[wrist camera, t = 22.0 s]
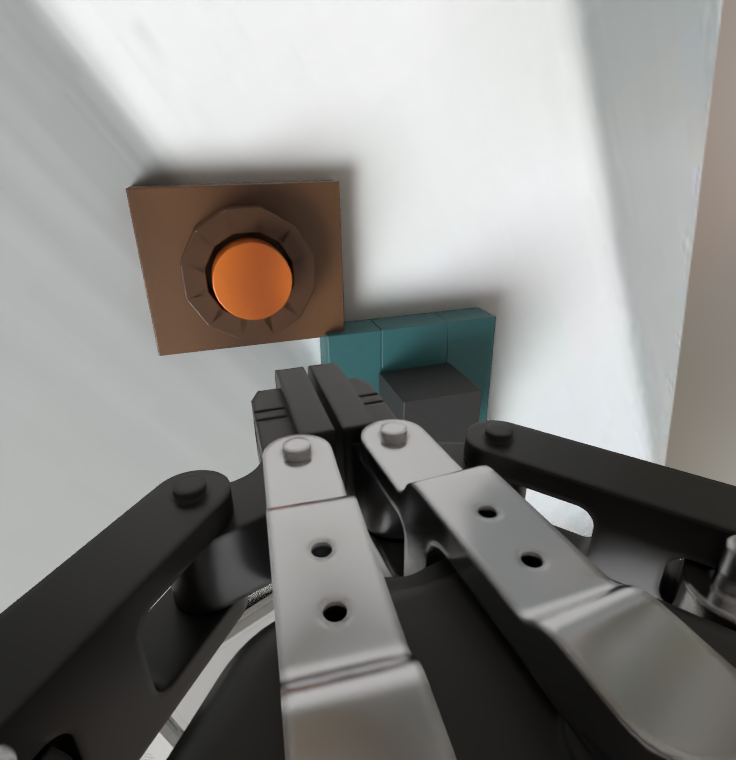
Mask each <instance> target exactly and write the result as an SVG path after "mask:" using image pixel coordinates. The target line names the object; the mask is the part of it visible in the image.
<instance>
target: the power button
mask: <svg viewBox="0 0 736 760" xmlns="http://www.w3.org/2000/svg"><path fill="white" fill-rule="evenodd" d="M212 284H213V289H214V292H215V295H216V297H217V299H218V301H219V302H220V304H221V305H222V306H223V307H224V308H225V309H226V310H227V311H228V312H230V313H231V314H233V315H235V316H237V317H240V318H243V319H248V320H259V319H264V318H267V317H269V316H272V315H273V314H275V313H277V312H278V311H279V310H280V309H281V308H282V307H283V306H284V305H285V303H286V302H287V300H288V298H289V296H290V294H291V290H292V274H291V270H290V267H289V265H288V263H287V261H286V260H285V258H284V257H283V256H282V255H281V254H280V252H279V251H278V250H277V249H276V248H275V247H274V246H272V245H271V244H270V243H268V242H266V241H264V240H261V239H258V238H252V237H245V238H239V239H236V240H233V241H231V242H229V243H228V244H226V245H225V246H224V247H223V248H222V249H221V250H220V251H219V252H218V254H217V255H216V257H215V259H214V262H213V265H212Z"/></svg>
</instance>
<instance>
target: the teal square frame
mask: <svg viewBox="0 0 736 760" xmlns="http://www.w3.org/2000/svg"><path fill="white" fill-rule="evenodd" d="M495 321H496V317H495V316H493V315H491V314H489V313H488V312H486V311H484V310H482V309H480V308H471V309H461V310H452V311H443V312H434V313H424V314H415V315H406V316H397V317H387V318H378V319H371V320H361V321H352V322H344V329H345V330H343V331H334V332H326V333H325V337H320V349H321V364H329V363H337V364H338V366H339V367H340V369H341V370H342V372H343V373H344V375H345V376H346V378H347V379H349V378H357V377H358V378H360V379H362V380H364V381H366V382H368V383H370V384H371V385H372V386H373V387H374V389H375V390H376V391H377V393H378V395H379V373H380V372H386V371H393V370H400V369H407V368H415V367H422V366H429V365H436V364H444V363H450V364H451V365H452V366H454V367H455V368H456V369H457V370H458V371H460V372H461V373H462V374H463V375H465V376H466V377H467V378H468V379H469V380H471V381H472V382H473V383H474V384H475V385H477V386H478V387H479V388H480V389H481V390H482V393H481V405H480V416H479V422H481V421H486V417H487V407H488V396H489V385H490V375H491V364H492V353H493V343H494V332H495Z"/></svg>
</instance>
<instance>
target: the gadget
mask: <svg viewBox="0 0 736 760" xmlns="http://www.w3.org/2000/svg"><path fill="white" fill-rule="evenodd" d="M274 621H275V614H274V602H273V593H272V594H270V595H269V596H267V597H266V598H264V599H263V600H261V601H259V602H258V603H256V604H255V605H253V606H252V607H250V608H249V609H247V610H245V611H244V613H243V615H242V616H241V618H240V619H239V620H238V622H237V623H236V625H235V626H234V627H233V629H232V630H231V632H230V633H229V635H228V636H227V637H226V639H225V640H224V642H223V643H222V644H221V646H220V647H219V649H218V650H217V651H216V653H215V654H214V656H213V657H212V658H211V660H210V661H209V663H208V664H207V666H206V667H205V668H204V670H203V671H202V673H201V674H200V675H199V677H198V678H197V680H196V681H195V682H194V684H193V685H192V687H191V688H190V689H189V691H188V692H187V694H186V695H185V697H184V698H183V699H182V701H181V702H180V704H179V705H178V706H177V708H176V709H175V711H174V712H173V713H172V715H171V716H170V718H169V719H168V721H167V722H166V723H165V725H164V726H163V728H162V729H161V730H160V732H159V733H158V735H157V736H156V737H155V739H154V740H153V742H152V743H151V744H150V746H149V747H148V749H147V750H146V752H145V753H144V754H143V756H142V757H141V759H140V760H166V759H167V757H168V756H169V754H170V753H171V751H172V750H173V748H174V747H175V745H176V743H177V742H178V740H179V739H180V737H181V736H182V734H183V731H185V729H186V728H187V726H188V725H189V723H190V721H191V720H192V718H193V717H194V715H195V714H196V712H197V710H198V709H199V707H200V706H201V704H202V703H203V701H204V699H205V698H206V696H207V695H208V693H209V691H210V690H211V688H212V687H213V685H214V684H215V682H216V680H217V679H218V677H219V676H220V674H221V673H222V671H223V670H224V668H225V667H226V666H227V664H228V663H229V662H230V660H231V659H232V658H233V657H234V656H235V654H236V653H237V652H238V651H239V649H240V648H242V647H243V646H244V645H245V644H246V643H247V642H248V641H249V640H250V639H251V638H252V637H253V636H254V635H255V634H257V633H258V632H259V631H260V630H262V629H263V628H264V627H266V626H267V625H269V624H271V623H272V622H274ZM181 729H183V731H182V730H181Z"/></svg>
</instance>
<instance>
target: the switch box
mask: <svg viewBox="0 0 736 760" xmlns="http://www.w3.org/2000/svg"><path fill="white" fill-rule="evenodd" d="M126 193H127V198H128V203H129V208H130V213H131V218H132V223H133V228H134V233H135V238H136V243H137V248H138V253H139V258H140V263H141V268H142V273H143V278H144V283H145V288H146V293H147V298H148V303H149V308H150V313H151V318H152V323H153V328H154V333H155V338H156V343H157V348H158V353H159V355H160V356H162V355H170V354H179V353H188V352H197V351H205V350H214V349H223V348H231V347H240V346H249V345H258V344H266V343H275V342H284V341H292V340H301V339H310V338H318V337H325V333H326V332H334V331H343V330H345V329H344V301H343V273H342V245H341V217H340V188H339V182H338V181H333V180H321V181H288V182H256V183H223V184H191V185H158V186H130V187H128V188H126ZM245 237H252V238H258V239H261V240H264V241H266V242H268V243H270V244H271V245H272V246H274V247H275V248H276V249H277V250H278V251H279V252H280V254H281V255H282V256H283V257H284V258H285V260H286V261H287V263H288V265H289V267H290V270H291V274H292V290H291V294H290V296H289V298H288V300H287V302H286V303H285V305H284V306H283V307H282V308H281V309H280V310H279V311H278V312H277V313H275V314H273V315H272V316H269V317H267V318H264V319H259V320H248V319H243V318H240V317H237V316H235V315H233V314H231V313H230V312H228V311H227V310H226V309H225V308H224V307H223V306H222V305H221V304H220V302H219V301H218V299H217V297H216V295H215V292H214V289H213V284H212V265H213V262H214V259H215V257H216V255H217V254H218V252H219V251H220V250H221V249H222V248H223V247H224V246H225V245H226V244H228V243H229V242H231V241H233V240H236V239H239V238H245Z"/></svg>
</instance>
